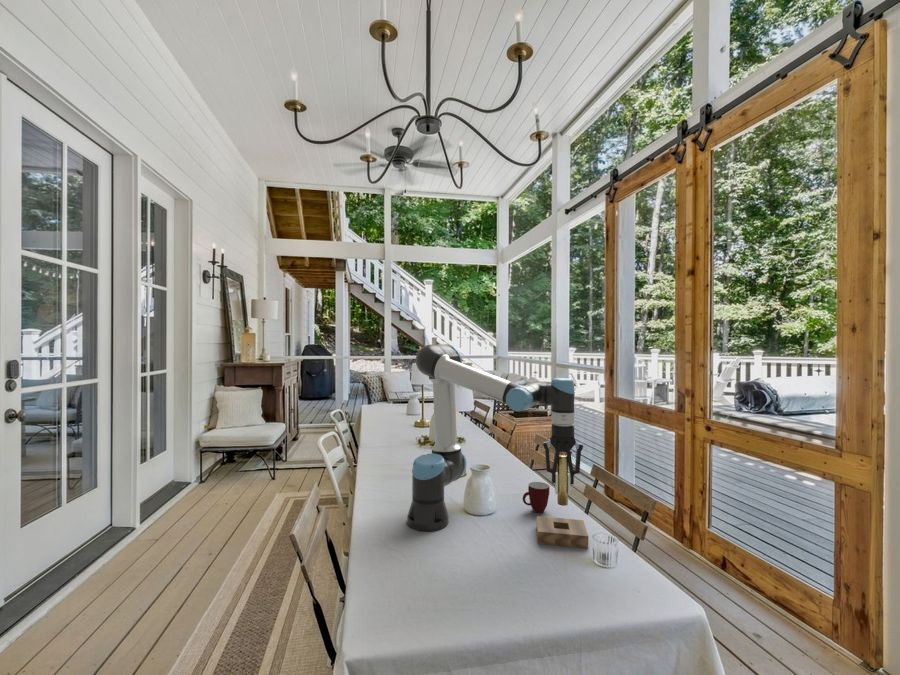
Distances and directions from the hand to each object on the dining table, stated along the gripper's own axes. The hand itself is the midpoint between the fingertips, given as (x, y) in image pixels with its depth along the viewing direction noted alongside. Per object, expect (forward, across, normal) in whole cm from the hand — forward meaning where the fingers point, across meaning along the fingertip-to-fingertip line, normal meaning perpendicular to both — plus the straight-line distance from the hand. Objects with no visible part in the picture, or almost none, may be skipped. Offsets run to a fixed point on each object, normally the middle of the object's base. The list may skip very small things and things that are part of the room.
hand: (562, 492), depth 142 cm
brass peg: (+4, 0, 0) cm, 4 cm away
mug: (+15, -8, +20) cm, 27 cm away
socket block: (+15, 0, 0) cm, 15 cm away
